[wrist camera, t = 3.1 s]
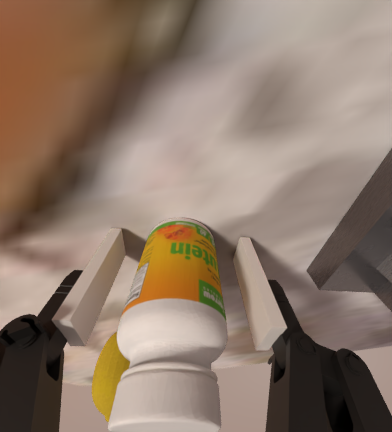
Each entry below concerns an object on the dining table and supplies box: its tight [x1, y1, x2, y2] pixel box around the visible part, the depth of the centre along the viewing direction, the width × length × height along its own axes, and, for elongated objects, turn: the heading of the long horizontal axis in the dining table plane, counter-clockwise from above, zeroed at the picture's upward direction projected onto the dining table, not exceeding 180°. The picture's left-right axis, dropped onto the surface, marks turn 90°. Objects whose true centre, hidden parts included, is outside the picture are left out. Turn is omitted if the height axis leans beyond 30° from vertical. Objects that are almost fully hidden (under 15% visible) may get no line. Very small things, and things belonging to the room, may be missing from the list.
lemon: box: [92, 332, 130, 422], centre depth 18 cm, size 6×6×8 cm
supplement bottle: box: [108, 218, 227, 432], centre depth 10 cm, size 5×5×10 cm
